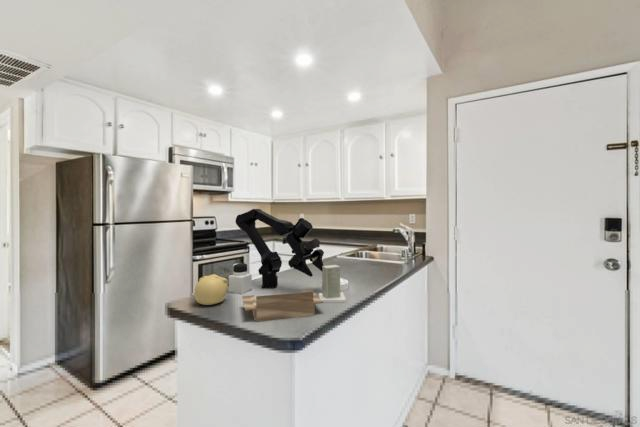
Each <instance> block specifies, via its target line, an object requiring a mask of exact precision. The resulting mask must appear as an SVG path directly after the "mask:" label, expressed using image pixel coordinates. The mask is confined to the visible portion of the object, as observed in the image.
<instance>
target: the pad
mask: <svg viewBox="0 0 640 427" xmlns="http://www.w3.org/2000/svg"><path fill="white" fill-rule="evenodd" d="M318 297H319V298H320V299H321V300H322V301H323V303H322V304H325V303H326V304H329V303H333V304H334V303H347V299H346V296H345V294H344V292H342V291H341V292H340V297H332V298H325V297H324V296H323V292H319V293H318Z"/></svg>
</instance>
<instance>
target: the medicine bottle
mask: <svg viewBox="0 0 640 427" xmlns="http://www.w3.org/2000/svg"><path fill="white" fill-rule="evenodd" d="M252 280H253V279H252V273H248V264H247V263H245V262H239V263H234V264H233V265H232V274H231V275H228V292H229V293H235V294H241V295H242V294H245V293H247V292H249V291H252V290H253V289H252V287H253V285H252V284H253V283H252Z"/></svg>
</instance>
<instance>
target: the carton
mask: <svg viewBox="0 0 640 427" xmlns="http://www.w3.org/2000/svg"><path fill="white" fill-rule="evenodd" d="M241 297H242V298H241V299H242V301H243V308H244V311H245V312H246V311H247V312H248V311H251V313H252V316H253V317H252V318H253V319H254V321H255V322H261V321H263V322H265V321H273V320H281V319H282V320H283V319H290V318H299V317H308V316H309V317H310V316H314V315H316V304H318V305H320V304H324V303H323V301H322V300H321V299H320V298H319V295H317V294H316V293H315V292H314V291H313V290H312V289H310V290H301V291H300V292H299V291H298V292H290V293H278V294H267V295H266V294H265V295H257V296H255V295H254V294H253V295H252V294H251V295H242V296H241Z"/></svg>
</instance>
